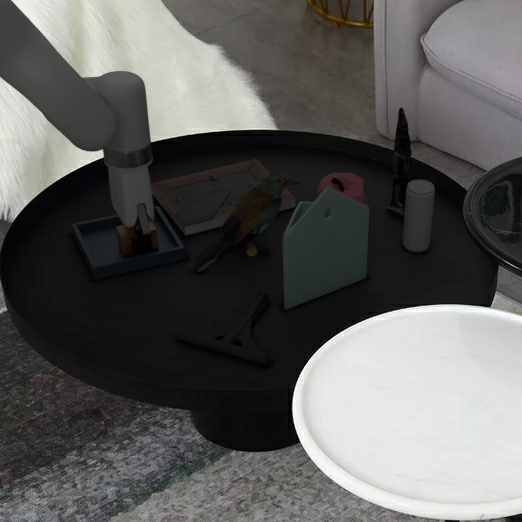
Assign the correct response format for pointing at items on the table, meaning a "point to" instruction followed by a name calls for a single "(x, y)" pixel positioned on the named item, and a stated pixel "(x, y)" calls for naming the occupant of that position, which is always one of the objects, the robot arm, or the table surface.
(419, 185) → the beverage can
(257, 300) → the bracket
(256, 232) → the bird figurine
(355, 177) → the apple
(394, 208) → the statue
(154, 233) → the brown wooden block
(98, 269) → the tray
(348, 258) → the planter
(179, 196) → the picture frame
